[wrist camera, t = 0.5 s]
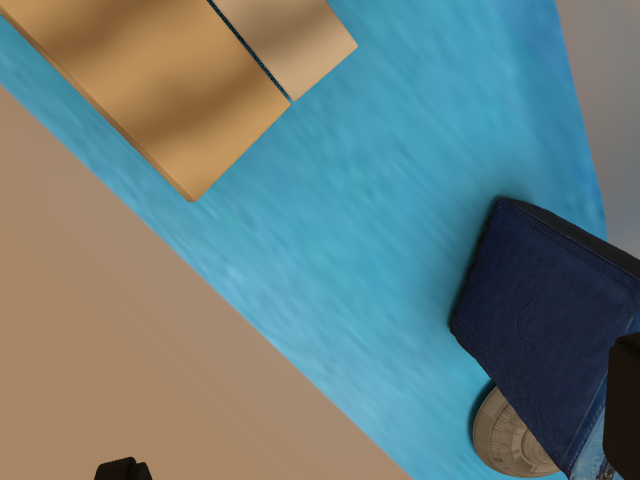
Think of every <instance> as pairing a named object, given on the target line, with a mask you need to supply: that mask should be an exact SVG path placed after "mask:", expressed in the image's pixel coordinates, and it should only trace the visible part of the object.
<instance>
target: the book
mask: <svg viewBox="0 0 640 480" xmlns="http://www.w3.org/2000/svg"><path fill="white" fill-rule="evenodd" d="M450 332H451V333H452V334H453V335H454V336H455V338H456V339H457V341H458V343H459V344H460V345H461V346H462V347H463V348H464V349H465V350H466V351H467V352H468V353H469V354H470V355H471V356H472V357H473V358H475V359H476V361H477V362H478V363H479V364H480V366H481V367H482V368H483V369H484V371H485V372H486V373H487V374H488V375H489V377H490V378H491V379H492V380H493V381H494V382H495V383H496V385H497V387H498V388H499V390H500V392H501V393H502V395H503V396H504V397H505V398H506V399H507V402H508V403H509V404H510V405H511V406H512V407H513V409H514V410H515V411H516V413H517V415H518V416H519V418H520V419H521V420H522V421H523V423H524V424H525V425H526V426H527V428H528V429H529V430H530V432H531V433H532V434H533V436H534V437H535V438H536V440H537V441H538V442H539V444H540V445H541V446H542V448H543V449H544V450H545V452H546V453H547V454H548V456H549V457H550V459H551V460H552V461H553V463H554V464H555V465H556V466H557V467H558V468H559V469H560V470H561V471H562V472H563V473H565V475H566V476H567V478H568V480H624V479H623V478H622V477H621V476H620V475H619V474H618V473H617V472H616V471H615V470H614V468H613V467H612V466H611V465H610V464H609V462H608V461H607V459H606V457H605V455H604V452H603V447H602V443H603V429H604V415H605V401H606V387H607V373H608V360H609V350H610V348H611V347H612V346H614V344H615V340H616V339H617V338H618V337H620V336H623V335H627V334H632V333H636V332H640V260H639V259H637V258H635V257H633V256H632V255H630V254H628V253H627V252H625V251H623V250H621V249H619V248H617V247H615V246H613V245H611V244H609V243H607V242H605V241H603V240H601V239H599V238H598V237H596V236H594V235H592V234H590V233H588V232H586V231H585V230H583V229H581V228H580V227H578V226H576V225H574V224H572V223H570V222H568V221H567V220H565V219H563V218H561V217H559V216H557V215H555V214H554V213H552V212H550V211H548V210H546V209H543V208H541V207H539V206H536V205H533V204H530V203H527V202H524V201H519V200H513V199H508V198H505V197H502V198H500V199H499V200H498V201H497V203H496V205H495V208H494V210H493V212H492V213H491V215H490V216H489V218H488V220H487V223H486V228H485V232H484V233H483V234H482V236H481V238H480V240H479V242H478V248H477V250H476V253H475V262H474V263H473V265H472V266H471V267H470V269H469V273H468V277H467V281H466V284H465V286H464V289H463V290H462V292H461V295H460V299H459V302H458V305H457V307H456V309H455V310H454V312H453V316H452V318H451V321H450Z"/></svg>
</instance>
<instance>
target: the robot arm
mask: <svg viewBox="0 0 640 480" xmlns="http://www.w3.org/2000/svg"><path fill="white" fill-rule="evenodd" d="M602 447H603V452H604V455H605V457H606V459H607V461H608V462H609V464H610V465H611V466H612V467H613V468H614V470H615V471H616V472H617V473H618V474H619V475H620V476H621V477H622V478H623V479H624V480H640V332H636V333H632V334H627V335H623V336H620V337H618V338H617V339H616V340H615V344H614V346H612V347H611V348H610V350H609V360H608V373H607V387H606V401H605V415H604V429H603V443H602ZM94 480H152V477H151V474H150V472H149V469H148V467H147V465H146V463H145V462H142V463H138V464H137V463H136V461H135V459H134V458H133V457H128V458H123V459H119V460H115V461H112V462H107V463H103V464H100V465H99V466H98V469H97V471H96V475H95V478H94Z"/></svg>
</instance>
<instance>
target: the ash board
mask: <svg viewBox="0 0 640 480" xmlns="http://www.w3.org/2000/svg"><path fill="white" fill-rule="evenodd" d="M212 2H213V3H214V4H215V5H216V7H217V8H218V9H219V10H220V12H221V13H222V14H223V15H224V16H225V18H226V19H227V20H228V21H229V23H230V24H231V25H232V26H233V28H234V29H235V30H236V31H237V33H238V34H239V35H240V36H241V38H242V39H243V40H244V41H245V42H246V44H247V45H248V46H249V47H250V49H251V50H252V51H253V52H254V54H255V55H256V56H257V57H258V59H259V60H260V61H261V62H262V64H263V65H264V66H265V67H266V68H267V70H268V71H269V72H270V73H271V75H272V76H273V77H274V78H275V80H276V81H277V82H278V83H279V85H280V86H281V87H282V88H283V90H284V91H285V92H286V93H287V94H288V96H289V97H290V98H291V99H292V100H293V101H294V102H295V101H296V100H297V99H298V98H299V97H301V96H302V95H303V94H304V93H305V92H306V91H308V90H309V89H310V88H311V87H312V86H313V85H315V84H316V83H317V82H318V81H319V80H320V79H321V78H323V77H324V76H325V75H326V74H327V73H328V72H330V71H331V70H332V69H333V68H334V67H335V66H337V65H338V64H339V63H340V62H341V61H342V60H343V59H345V58H346V57H347V56H348V55H349V54H350V53H352V52H353V51H354V50H355V49H356V48H357V47H358V45H357V44H356V42H355V41H354V40H353V38H352V37H351V35H350V34H349V33H348V31H347V30H346V28H345V27H344V25H343V24H342V23H341V21H340V20H339V18H338V17H337V16H336V14H335V13H334V11H333V10H332V9H331V7H330V6H329V4H328V3H327V2H326V0H212Z"/></svg>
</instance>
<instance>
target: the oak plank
mask: <svg viewBox="0 0 640 480" xmlns="http://www.w3.org/2000/svg"><path fill="white" fill-rule="evenodd" d="M0 14H1V15H2V16H3V17H4V18H5V19H6V20H7V21H8V22H9V23H10V24H11V25H12V26H13V27H14V28H15V29H16V30H17V31H18V32H19V33H20V34H21V35H22V36H23V37H24V38H25V39H26V40H27V41H28V42H29V43H30V44H31V45H32V46H33V47H34V48H35V49H36V50H37V51H38V52H39V53H40V54H41V55H42V56H43V57H44V58H45V59H46V60H47V61H48V62H49V63H50V64H51V65H52V66H53V67H54V68H55V69H56V70H57V71H58V72H59V73H60V74H61V75H62V76H63V77H64V78H65V79H66V80H67V81H68V82H69V83H70V84H71V85H72V86H73V87H74V88H75V89H76V90H77V91H78V92H79V93H80V94H81V95H82V96H83V97H84V98H85V99H86V100H87V101H88V102H89V103H90V104H91V105H92V106H93V107H94V108H95V109H96V110H97V111H98V112H99V113H100V114H101V115H102V116H103V117H104V118H105V119H106V120H107V121H108V122H109V123H110V124H111V125H112V126H113V127H114V128H115V129H116V130H117V131H118V132H119V133H120V134H121V135H122V136H123V137H124V138H125V139H126V140H127V141H128V142H129V143H130V144H131V145H132V146H133V147H134V148H135V149H136V150H137V151H138V152H139V153H140V154H141V155H142V156H143V157H144V158H145V159H146V160H147V161H148V162H149V163H150V164H151V165H152V166H153V167H154V168H155V169H156V170H157V171H158V172H159V173H160V174H161V175H162V176H163V177H164V178H165V179H166V180H167V181H168V182H169V183H170V184H171V185H172V186H173V187H174V188H175V189H176V190H177V191H178V192H179V193H180V194H181V195H182V196H183V197H184V198H185V199H186V200H187V201H188V202H196V201H197V200H198V199H199V198H200V197H201V196H202V195H203V194H204V193H205V192H206V191H207V190H208V189H209V188H210V187H211V186H212V185H213V184H214V182H215V181H216V180H217V179H218V178H219V177H220V176H221V175H222V174H223V173H224V172H225V171H226V170H227V169H228V168H229V167H230V166H231V165H232V164H233V163H234V162H235V161H236V160H237V159H238V158H239V157H240V156H241V155H242V154H243V153H244V152H245V151H246V150H247V149H248V148H249V147H250V146H251V145H252V144H253V143H254V142H255V141H256V140H257V139H258V138H259V137H260V136H261V135H262V134H263V133H264V132H265V131H266V130H267V129H268V128H269V127H270V126H271V125H272V124H273V123H274V122H275V121H276V120H277V119H278V118H279V117H280V116H281V115H282V113H283V112H284V111H285V110H286V109H287V108H288V107H289V106H290V105H291V104H290V103H289V101H288V100H287V99H286V98H285V96H284V95H283V94H282V93H281V92H280V90H279V89H278V88H277V87H276V85H275V84H274V83H273V82H272V80H271V79H270V78H269V77H268V76H267V74H266V73H265V72H264V71H263V69H262V68H261V67H260V66H259V64H258V63H257V62H256V61H255V60H254V58H253V57H252V56H251V55H250V53H249V52H248V51H247V50H246V48H245V47H244V46H243V45H242V44H241V42H240V41H239V40H238V39H237V37H236V36H235V35H234V34H233V32H232V31H231V30H230V29H229V28H228V26H227V25H226V24H225V23H224V21H223V20H222V19H221V18H220V16H219V15H218V14H217V13H216V12H215V10H214V9H213V8H212V7H211V5H210V4H209V3H208V2H207V0H0Z"/></svg>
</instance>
